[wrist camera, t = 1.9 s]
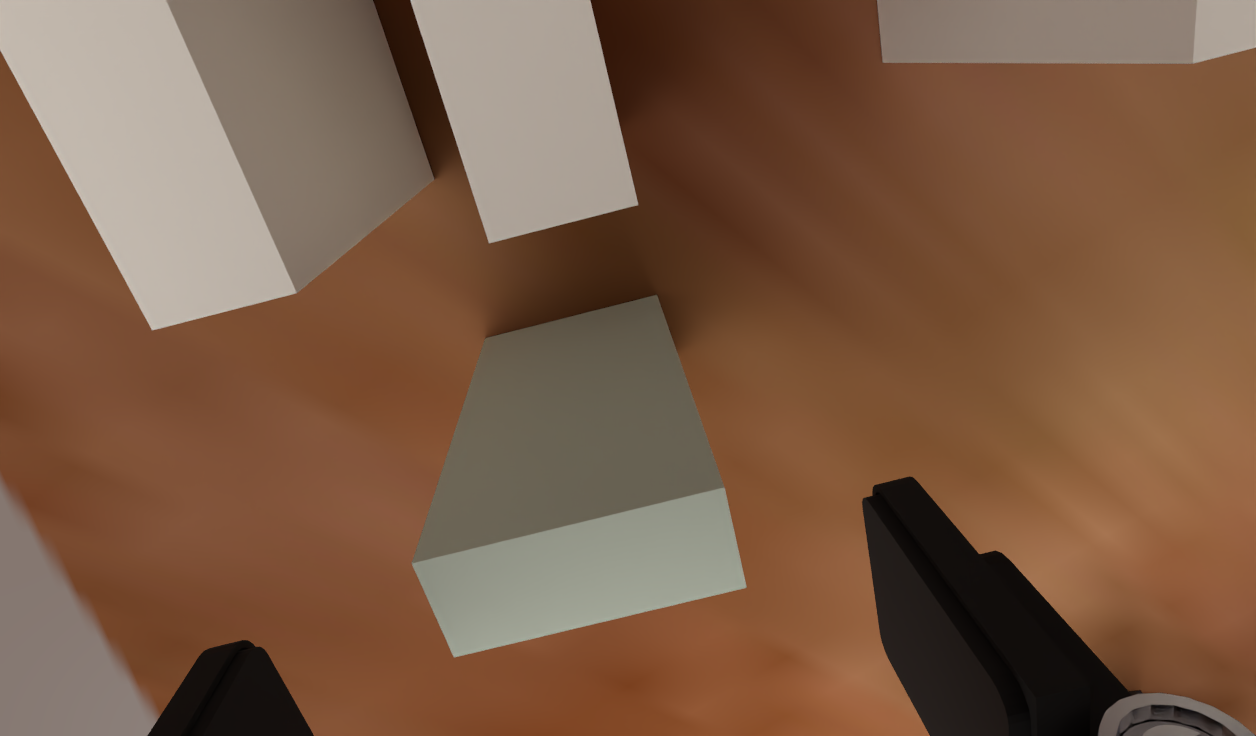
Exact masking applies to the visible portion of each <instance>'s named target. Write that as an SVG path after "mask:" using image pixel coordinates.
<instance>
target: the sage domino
mask: <svg viewBox="0 0 1256 736" xmlns="http://www.w3.org/2000/svg"><path fill="white" fill-rule="evenodd" d="M412 565H413V567H414V570H415V572H416V574H417V576H418V578H419V581H420V583H421V585H422V587H423V590H424V592H425V594H426V596H427V598H428V601H429V603H430V605H431V607H432V610H433V612H434V614H435V616H436V618H437V621H438V623H439V625H440V627H441V630H442V632H443V634H444V636H445V638H446V641H447V643H448V645H449V647H450V649H451V652H452V654H453V656H454V657H458V656H462V655H466V654H470V653H475V652H479V651H483V650H487V649H491V648H496V647H500V646H504V645H508V644H512V643H516V642H521V641H525V640H529V639H533V638H537V637H542V636H546V635H550V634H554V633H558V632H563V631H567V630H571V629H575V628H579V627H584V626H588V625H592V624H596V623H600V622H605V621H609V620H613V619H617V618H621V617H626V616H630V615H634V614H638V613H642V612H646V611H651V610H655V609H659V608H663V607H667V606H672V605H676V604H680V603H684V602H688V601H693V600H697V599H701V598H705V597H709V596H714V595H718V594H722V593H726V592H730V591H735V590H739V589H743V588H747V587H746V583H745V578H744V574H743V569H742V565H741V560H740V556H739V551H738V547H737V542H736V538H735V533H734V529H733V524H732V520H731V515H730V511H729V506H728V502H727V497H726V492H725V488H724V485H723V482H722V479H721V476H720V473H719V471H718V468H717V465H716V462H715V459H714V456H713V454H712V451H711V448H710V445H709V442H708V439H707V436H706V434H705V431H704V428H703V425H702V422H701V419H700V416H699V414H698V411H697V408H696V405H695V402H694V399H693V396H692V394H691V391H690V388H689V385H688V382H687V379H686V376H685V374H684V371H683V368H682V365H681V362H680V359H679V356H678V354H677V351H676V348H675V345H674V342H673V339H672V336H671V334H670V331H669V328H668V325H667V322H666V319H665V316H664V314H663V311H662V308H661V305H660V302H659V299H658V296H657V295H654V296H650V297H646V298H642V299H638V300H634V301H630V302H626V303H622V304H618V305H614V306H610V307H607V308H603V309H599V310H595V311H591V312H587V313H583V314H579V315H575V316H571V317H567V318H563V319H559V320H555V321H551V322H547V323H543V324H539V325H535V326H531V327H527V328H523V329H520V330H516V331H512V332H508V333H504V334H500V335H496V336H492V337H488V338H485V340H484V344H483V347H482V350H481V353H480V356H479V359H478V362H477V365H476V368H475V371H474V374H473V377H472V380H471V383H470V386H469V389H468V393H467V396H466V399H465V402H464V405H463V408H462V411H461V414H460V417H459V420H458V423H457V426H456V429H455V432H454V435H453V439H452V442H451V445H450V448H449V451H448V454H447V457H446V460H445V463H444V466H443V469H442V472H441V475H440V478H439V481H438V485H437V488H436V491H435V494H434V497H433V500H432V503H431V506H430V509H429V512H428V515H427V518H426V521H425V524H424V527H423V530H422V534H421V537H420V540H419V543H418V546H417V549H416V552H415V555H414V558H413V561H412Z"/></svg>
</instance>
